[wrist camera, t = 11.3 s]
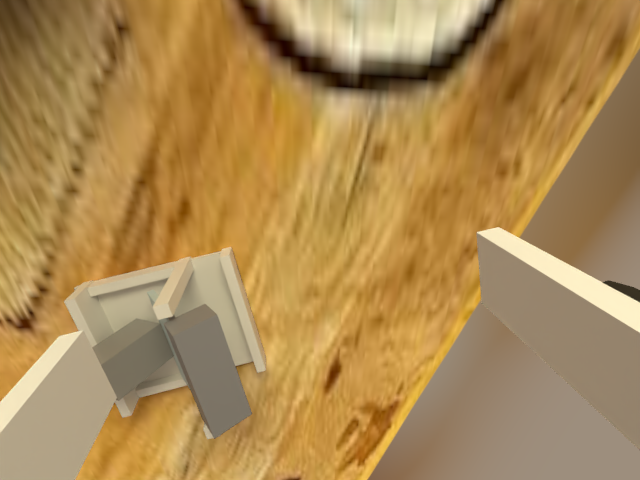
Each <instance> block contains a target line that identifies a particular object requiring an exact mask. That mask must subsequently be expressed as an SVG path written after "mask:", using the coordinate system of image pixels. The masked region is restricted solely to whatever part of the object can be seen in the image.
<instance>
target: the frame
mask: <svg viewBox="0 0 640 480" xmlns="http://www.w3.org/2000/svg"><path fill="white" fill-rule="evenodd" d="M74 290H75V291H74V292H73V293H72V294H71V295H70V296H69V297H68V298H67V299H66V300H65V301H64V302H65V304H66V306H67V308H68V310H69V312H70V314H71V316H72V318H73V320H74V322H75V324H76V326H77V328H78V330H79V331H82V330H84V332H85V334H86V336H87V338H88V340H89V342H90V344H91V346H92V347H94V346H95V345H97V344H98V343H100V342H101V341H103V340H104V339H106V338H107V337H109V336H110V335H112V334H113V333H115V332H116V331H118V330H120V329H121V328H123V327H124V326H126V325H127V324H129V323H130V322H132V321H133V320H135V319H142V320H147V321H152V322H157V323H159V320H160V319H164V318H169V320H171V319H174V318H176V317H178V316H180V315H182V314H184V313H186V312H188V311H190V310H193V309H195V308H197V307H199V306H201V305H203V304H206V305H207V306H208V307H210V308H211V309H212V310H213V311H214V312H215V313H216V314H217V315H218V318H219V321H220V324H221V327H222V330H223V332H224V335H225V338H226V341H227V344H228V347H229V349H230V352H231V355H232V358H233V361H234V364H235V366H238V365H242V364H245V363H249V362H253V361H254V364H255V367H256V370H257V373H258V372H262V371H266V356H265V353H264V349H263V346H262V343H261V340H260V337H259V333H258V330H257V327H256V324H255V321H254V317H253V314H252V311H251V308H250V305H249V302H248V298H247V295H246V292H245V289H244V286H243V282H242V279H241V276H240V273H239V270H238V266H237V263H236V260H235V257H234V254H233V250H232V247H228V248H224V249H222V251H219V252H215V253H211V254H207V255H203V256H199V257H194V258H191V257H187V258H182V259H179V261H175V262H171V263H167V264H162V265H158V266H154V267H150V268H146V269H142V270H138V271H134V272H129V273H125V274H121V275H117V276H113V277H109V278H105V279H101V280H96V281H93V280H92V281H88V282H83V283H82V284H81V285H79V286H76V287H75V288H74ZM151 290H154V291H155V292H156V293H157V294H158V298H157V300H156V302H155V303H154V305H153V306H152V304H151V301H150V299H149V296H148V294H147V292H149V291H151ZM174 315H175V316H174ZM183 386H187V384H186V382H185V381H184V379H183V378H182V376H181V374H180V371H179V369H178V366H177V364H176V361H175V359H174V357H172V358H171V359H170V360H168V361H167V362H166V363H165V364H164V365H162V366H161V367H160V368H159V369H157V370H156V371H155V372H154V373H152V374H151V375H150V376H149V377H148V378H146V379H145V380H144V381H143V382H141V383H140V384H139V385H138V386H137V387H135V388H134V389H133V390H132V391H130V392H129V393H128V394H127V395H125V396H124V397H123V398H122V399H121V400H119V401H118V400H115V404H116V406H117V408H118V410H119V412H120V414H121V416H122V418H123V417H127V416H131V415H132V413H133V411H134V409H135V406H136V404H137V402H138V400H139V398H140V397H144V396H148V395H152V394H156V393H160V392H163V391H167V390H171V389H175V388H179V387H183ZM203 430H204V432H205V435H206V437H207V439H211V438H214V437H213V436H212V434H211V432H210V431H209V429H208V427H207V426H206V424H205V423H204V428H203ZM219 436H220V435H219Z"/></svg>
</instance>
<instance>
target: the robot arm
mask: <svg viewBox="0 0 640 480" xmlns="http://www.w3.org/2000/svg"><path fill="white" fill-rule="evenodd" d="M477 245H478V259H479V272H480V286H481V300H482V304H483V305H484V306H485V307H486V308H488V310H489V311H491V312H492V313H493V314H494V315H495V316H496V317H497V318H498V319H499V320H500V321H501V322H502V323H503V324H504V325H506V326H507V327H508V328H509V329H510V330H511V331H512V332H513V333H514V334H515V335H516V336H517V337H518V338H520V339H521V340H522V341H523V342H524V343H525V344H526V345H527V346H528V347H529V348H530V349H531V350H532V351H534V352H535V353H536V354H537V355H538V356H539V357H540V358H541V359H542V360H543V361H544V362H545V363H546V364H547V365H549V366H550V367H551V368H552V369H553V370H554V371H555V372H556V373H557V374H558V375H559V376H561V377H562V378H563V379H564V380H565V381H566V382H567V383H568V384H569V385H570V386H571V387H572V388H573V389H574V390H575V391H577V392H578V393H579V394H580V395H581V396H582V397H583V398H584V399H585V400H586V401H587V402H588V403H589V404H590V405H592V406H593V407H594V408H595V409H596V410H597V411H598V412H599V413H600V414H601V415H602V416H603V417H604V418H606V419H607V420H608V421H609V422H610V423H611V424H612V425H613V426H614V427H615V428H617V429H618V431H620V432H621V433H622V434H623V435H624V436H625V437H626V438H627V439H628V440H629V441H631V443H632V444H634V445H635V446H636V447H637V448H638V449H639V450H640V290H638V289H636V288H634V287H630V286H627V285H623V284H620V283H616V282H612V281H605V282H600V281H598V280H597V279H595V278H593V277H591V276H589V275H587V274H585V273H583V272H582V271H580V270H578V269H576V268H574V267H572V266H570V265H568V264H567V263H565V262H562V261H561V260H559V259H557V258H555V257H553V256H552V255H550V254H548V253H546V252H544V251H542V250H540V249H539V248H537V247H535V246H533V245H531V244H529V243H527V242H525V241H523V240H522V239H520V238H518V237H516V236H514V235H512V234H510V233H509V232H507V231H505V230H503V229H501V228H499V227H497V228H493V229H489V230H485V231H481V232H477ZM116 398H117V397H116V395H115V393H114V390H113V388H112V386H111V384H110V382H109V380H108V378H107V376H106V374H105V372H104V370H103V368H102V366H101V364H100V362H99V360H98V358H97V356H96V354H95V352H94V350H93V348H92V346H91V344H90V342H89V340H88V338H87V336H86V334H85V332H84V330H82V331H78V332H74V333H70V334H66V335H62V336H59V337H58V338H57V339H56V340H55V341H54V343H53V344H52V345H51V346H50V347H49V348H48V349H47V350H46V352H45V353H44V354H43V355H42V356H41V357H40V358H39V359H38V360H37V362H36V363H35V364H34V365H33V366H32V367H31V368H30V369H29V371H28V372H27V373H26V374H25V375H24V376H23V377H22V378H21V380H20V381H19V382H18V383H17V384H16V385H15V386H14V387H13V388H12V390H11V391H10V392H9V393H8V394H7V395H6V396H5V397H4V399H3V400H2V401H1V402H0V480H75V479H76V477H77V475H78V473H79V471H80V469H81V467H82V465H83V463H84V461H85V459H86V457H87V455H88V453H89V451H90V449H91V447H92V446H93V444H94V442H95V440H96V438H97V436H98V434H99V432H100V430H101V428H102V426H103V424H104V422H105V420H106V418H107V416H108V414H109V412H110V410H111V408H112V406H113V404H114V402H115V400H116Z"/></svg>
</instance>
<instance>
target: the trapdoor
mask: <svg viewBox="0 0 640 480" xmlns="http://www.w3.org/2000/svg"><path fill="white" fill-rule="evenodd" d="M147 294H148V296H149V299H150V301H151V304H152V306H153V305H154V303H155V302H156V300H157V298H158V294H157V293H156V292H155V291H154V290H151V291H149V292H147ZM174 316H175V315H174ZM159 323H161V326H162V328H163V330H164V333H165V335H166V338H167V340H168V343H169V345H170V347H171V350H172V352H173V355H174V356H173V357H174V359H175V361H176V364H177V366H178V369H179V371H180V374H181V376H182V378H183V379H184V381H185V382H186V384H187V385H188V387H189V389H190V390H191V392H192V394H193V397H194V399H195V402H196V404H197V407H198V409H199V411H200V414H201V416H202V419H203V421H204V423H205V424H206V426H207V427H208V429H209V431H210V432H211V434H212V436H213V437H214V439H215V438H216V437H218V436H219V435H221V434H222V433H224V432H225V431H227V430H228V429H230V428H231V427H233V426H234V425H236V424H237V423H239V422H241V421H242V420H244V419H245V418H247V417H248V416H250V415H251V414H252V412H251V409H250V407H249V404H248V401H247V398H246V395H245V392H244V389H243V387H242V384H241V381H240V378H239V375H238V372H237V369H236V367H235V364H234V361H233V358H232V355H231V352H230V349H229V347H228V344H227V341H226V338H225V335H224V332H223V330H222V327H221V324H220V321H219V318H218V315H217V314H216V313H215V312H214V311H213V310H212V309H211V308H210V307H208V306H207V305H206V304H203V305H201V306H199V307H197V308H195V309H193V310H190V311H188V312H186V313H184V314H182V315H180V316H178V317H176V318H174V319H171V320H169V318H164V319H160V320H159Z"/></svg>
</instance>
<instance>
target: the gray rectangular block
mask: <svg viewBox="0 0 640 480" xmlns="http://www.w3.org/2000/svg"><path fill="white" fill-rule="evenodd" d="M92 348H93V350H94V352H95V354H96V356H97V358H98V360H99V362H100V364H101V366H102V368H103V370H104V372H105V374H106V376H107V378H108V380H109V382H110V384H111V386H112V388H113V390H114V393H115V395H116V397H117V398H116V400H118V401H119V400H121V399H122V398H123V397H124V396H125V395H127V394H128V393H129V392H130V391H132V390H133V389H134V388H135V387H137V386H138V385H139V384H140V383H141V382H143V381H144V380H145V379H146V378H148V377H149V376H150V375H151V374H152V373H154V372H155V371H156V370H157V369H159V368H160V367H161V366H162V365H164V364H165V363H166V362H167V361H168V360H170V359H171V358H172V357H173V356H174V355H173V352H172V350H171V347H170V345H169V343H168V340H167V338H166V335H165V333H164V330H163V328H162V326H161V323H157V322H152V321H147V320H142V319H135V320H133V321H132V322H130V323H129V324H127V325H126V326H124V327H123V328H121V329H120V330H118V331H116V332H115V333H113V334H112V335H110V336H109V337H107V338H106V339H104V340H103V341H101V342H100V343H98V344H97V345H95V346H94V347H92Z"/></svg>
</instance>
